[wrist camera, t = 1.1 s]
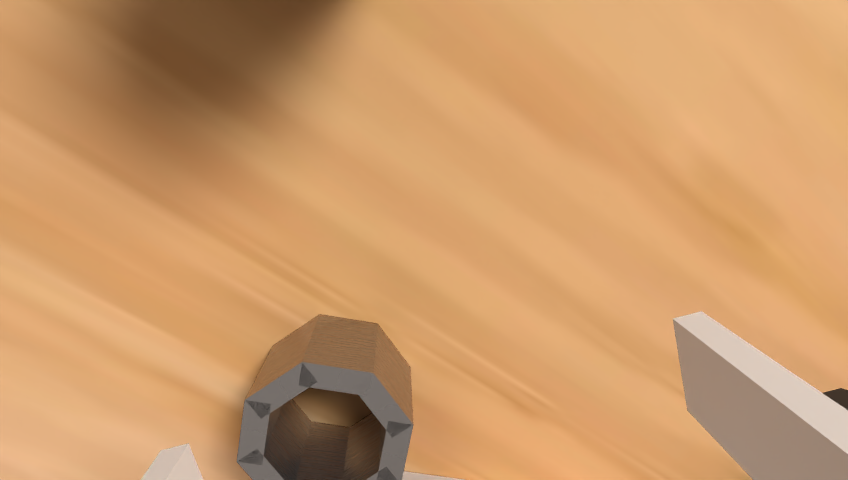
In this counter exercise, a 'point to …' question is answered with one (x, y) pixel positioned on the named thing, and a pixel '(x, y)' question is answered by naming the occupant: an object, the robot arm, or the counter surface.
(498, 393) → the counter surface
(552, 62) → the counter surface
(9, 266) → the counter surface
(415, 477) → the panel
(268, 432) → the collar
